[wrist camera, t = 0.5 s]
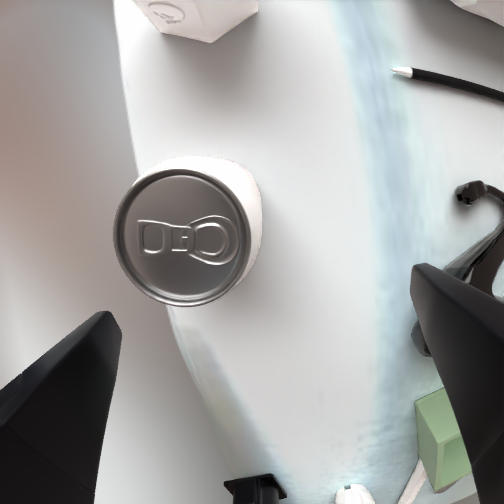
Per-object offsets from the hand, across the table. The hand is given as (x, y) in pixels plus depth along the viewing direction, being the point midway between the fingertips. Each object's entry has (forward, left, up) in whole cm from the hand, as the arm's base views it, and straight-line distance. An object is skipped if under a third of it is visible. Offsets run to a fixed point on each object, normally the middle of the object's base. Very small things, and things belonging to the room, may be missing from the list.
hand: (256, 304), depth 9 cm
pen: (+4, -23, -16) cm, 28 cm away
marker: (-43, -7, -16) cm, 47 cm away
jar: (+18, -3, -16) cm, 24 cm away
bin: (-30, -15, -16) cm, 37 cm away
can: (+2, +2, -16) cm, 16 cm away
